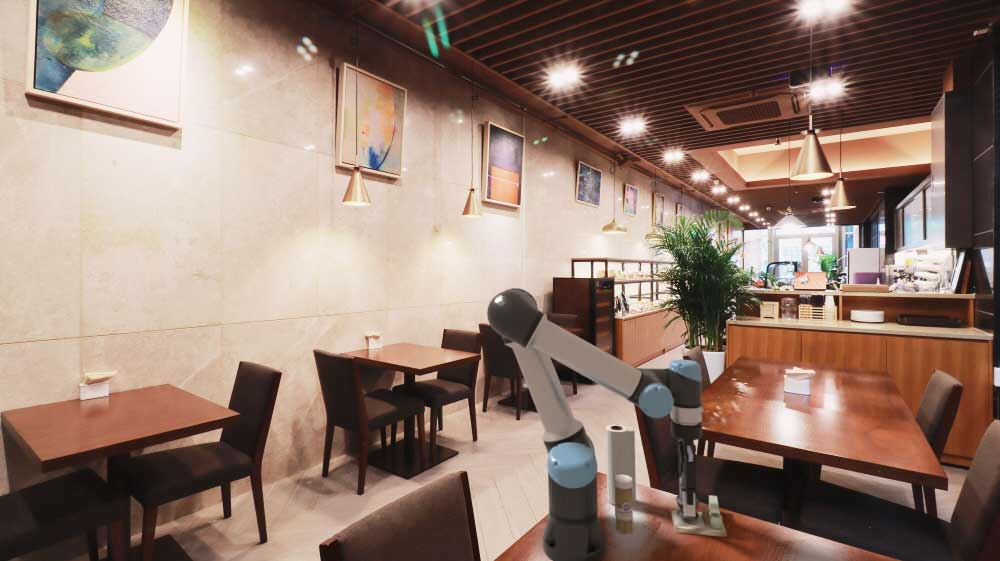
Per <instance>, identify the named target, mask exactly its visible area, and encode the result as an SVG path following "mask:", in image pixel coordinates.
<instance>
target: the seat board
mask: <svg viewBox="0 0 1000 561" xmlns="http://www.w3.org/2000/svg"><path fill="white" fill-rule="evenodd" d="M678 510H679V509H670V516H671V520H672V523H673V528H674V532H675V533H681V534H690V535H700V536H702V535H703V536H711V537H720V538H721V537H723V538H727V537H728V535H727V534H728V533H727V530H726V527H725V525H724V523H723V521H722V528H721V529H715V528H712V527H711V526H710V509H709V507H708V505H701V511H697V510H696V512H697V513H698V514H699V517H698V518H697V519H685V518H682V517H680V516H679V515H678V514H677V511H678Z"/></svg>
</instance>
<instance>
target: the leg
mask: <svg viewBox="0 0 1000 561" xmlns="http://www.w3.org/2000/svg"><path fill="white" fill-rule="evenodd" d="M708 506H709V507H708V508H709V512H710V526H711V527H712V528H715V529H721V528H722V522H723V516H722V515H721V513H720V507H719V501H718V496H717V495H711V494H710V495H708Z"/></svg>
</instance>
